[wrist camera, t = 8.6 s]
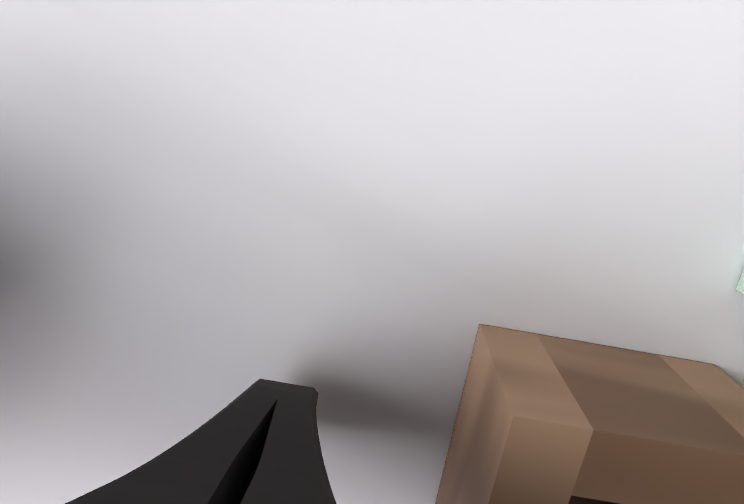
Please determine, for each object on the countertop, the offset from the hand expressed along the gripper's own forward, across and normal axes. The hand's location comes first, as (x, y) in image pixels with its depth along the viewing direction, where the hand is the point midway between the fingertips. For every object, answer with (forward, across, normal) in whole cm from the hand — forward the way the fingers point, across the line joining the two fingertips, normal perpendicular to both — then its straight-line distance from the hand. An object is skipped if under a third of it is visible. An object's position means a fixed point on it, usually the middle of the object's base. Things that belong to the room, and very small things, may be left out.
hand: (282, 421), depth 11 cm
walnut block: (+1, -7, 0) cm, 7 cm away
